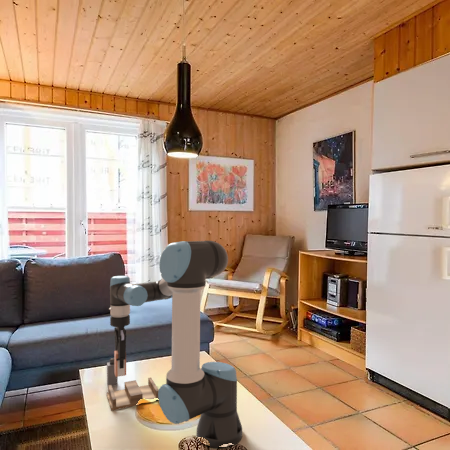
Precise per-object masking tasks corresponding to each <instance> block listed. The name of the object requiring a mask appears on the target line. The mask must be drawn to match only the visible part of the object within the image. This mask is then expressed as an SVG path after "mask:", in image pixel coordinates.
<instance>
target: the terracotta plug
mask: <svg viewBox="0 0 450 450" xmlns="http://www.w3.org/2000/svg"><path fill="white" fill-rule="evenodd" d="M113 354H114V355H113V356H114V357H113V358H114V374H115V376H116V377H118V361H116V359H118V350H117V351H115V350H114V351H113ZM125 376H127V358H126V359H125Z"/></svg>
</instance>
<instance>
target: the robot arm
mask: <svg viewBox="0 0 450 450" xmlns="http://www.w3.org/2000/svg"><path fill="white" fill-rule="evenodd" d="M228 263H229V256H228V252H227V250H226V248H225V247H224V246H223V245H222V244H221V243H219V242H217V241H213V240H194V241H193V240H191V241H190V240H189V241H187V240H186V241H184V240H183V241H176V242H171V243H168V244H167V245H166V247H164V249H163V250H162V252H161V254H160V258H159V264H158V266H159V273H161V274H160V276H161V279H159V280H156V281H148V282H140V283H131V279H130V277H129V276H128V275H115V276H112V277H110V285H109V290H110V291H109V295H110V296H109V301H110V303H109V304H110V307H109V308H108V310H109V311H110V317H109V318H110V319H109V320H110V321H109V323H110V326H111V327H113V328H114V330H113V332H114V351H117V350H118V359H116V361H118V377H124V376H126V375H125V359H126V360H127V350H126V348H127V329H126V326H129V325H130V324H131V323H130V322H131V316H130V314H131V306H133V307H139V306H143V305H144V304H145V303H150V302H154V301H156V302H157V301H161V300H169V299H171V301H172V302H171V367H170V369H169V370H168V371H167V373H166V375H165V377H166V378H165V379H166V380H165V381H166V382H165V383H164V384H162V385H161V386H160V387H159V388H158V389H159V391H158V399H159V401H158V404H159V406H160V410H161V411H162V414H163V415H164V417H165V419H167V420H168V421H169V422H170V423H171V424H175V425H179V424H182V423H184V422H189V420H191V419H194V418H197V417H199V416H200V417H199V420H198V423H197V427H196V437H197V436H198V437H203V438H205V439H207V440H208V441H209V443H210V447H209V448H214V449H219V448H218V447H219V446H221V445H223V444H228V443H232V444H235V445H236V444H238V443H239V442H241V440H242V438H243V426H242V422H241V420H240V416H239V414H238V408H237V407H238V405H237V403H238V399H237V397H238V378H237V377H238V376H237V370H236V368H235V367H234V366H233V365H231V364H230V363H225V362H223V361H222V362H221V361H208V362H205V363H203V364H202V365H201V363H200V362H201V361H200V359H201V357H200V356H201V352H200V351H201V350H200V349H201V292H202V290H203V289H204V288H205V287H206V284H207V283H206V279H207V280H210V279H213V278H215V277H217V276H219V275H221V274H222V273H224V271H225V270H226V268H227V267H228ZM200 365H201V367H200Z"/></svg>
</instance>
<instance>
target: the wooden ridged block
mask: <svg viewBox="0 0 450 450" xmlns="http://www.w3.org/2000/svg"><path fill="white" fill-rule="evenodd" d="M147 379H148V381H147V384H145V385H139V384H138V382H137V380H129V381H125V382H124V389H120V390H114V388H113V386H112V385H107V388H108V389H107V391H108V392H106V398H107V401H108V405H109V407H110V411H116V410H121V409H126V408H132V407H134V406H137V405H136V404H137V403H138V401H139V400H140V399H143V398H145V399H154V398H158V391H159V388H158V386H157V385H156V383H155V382H154V379H153V378H152V377H148V378H147Z"/></svg>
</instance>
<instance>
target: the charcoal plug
mask: <svg viewBox="0 0 450 450" xmlns="http://www.w3.org/2000/svg"><path fill="white" fill-rule="evenodd" d="M118 379H119V378H118V377H116V376H115V374H114V357H113V358H110V359H109V362H106V385H107V386H108V385H112V387H113V386H118V382H119V381H118Z"/></svg>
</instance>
